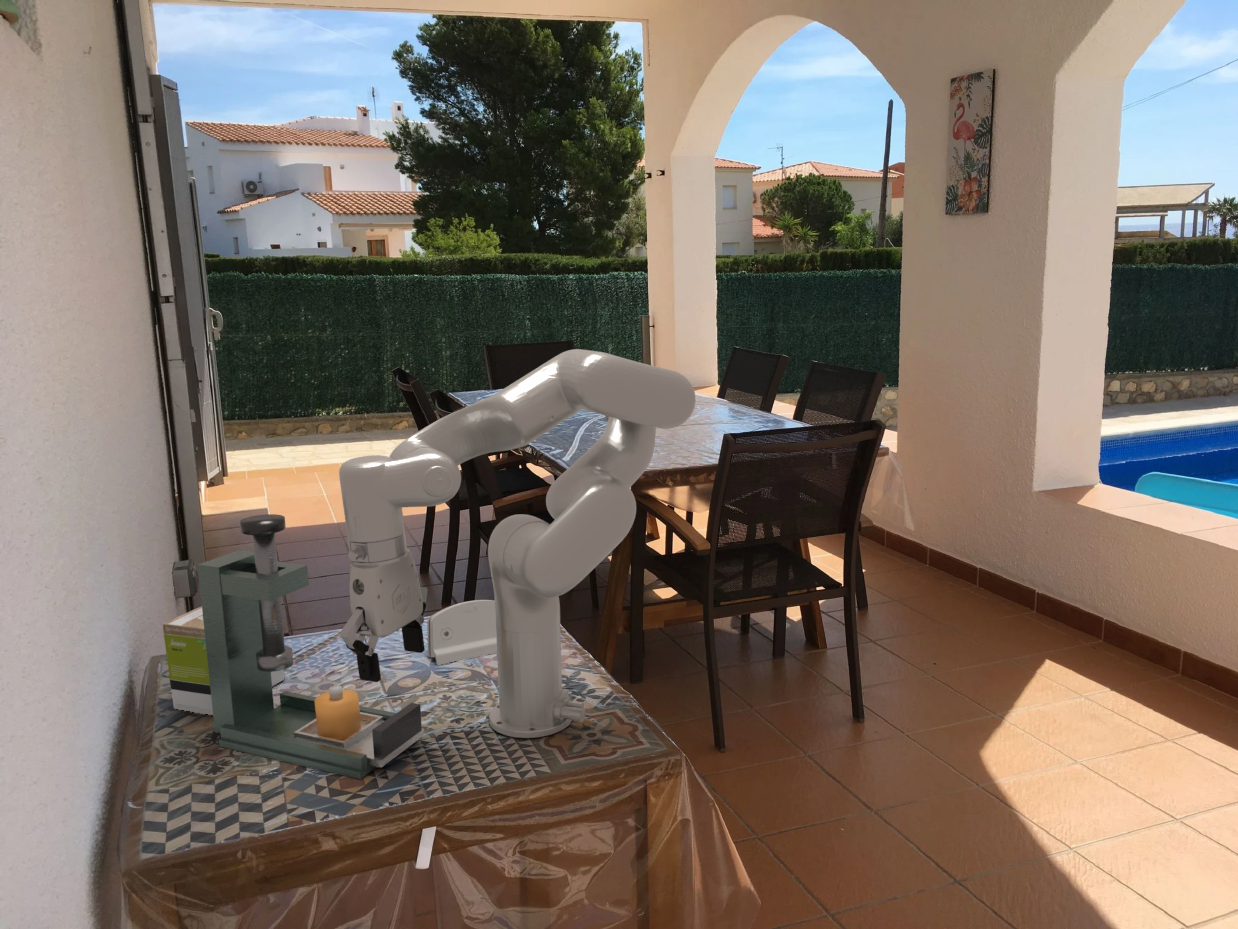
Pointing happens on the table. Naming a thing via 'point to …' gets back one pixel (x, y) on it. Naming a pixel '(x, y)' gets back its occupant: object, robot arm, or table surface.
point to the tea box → (192, 663)
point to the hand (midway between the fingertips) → (393, 665)
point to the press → (248, 690)
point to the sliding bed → (374, 735)
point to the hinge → (462, 631)
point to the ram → (266, 563)
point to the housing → (337, 713)
